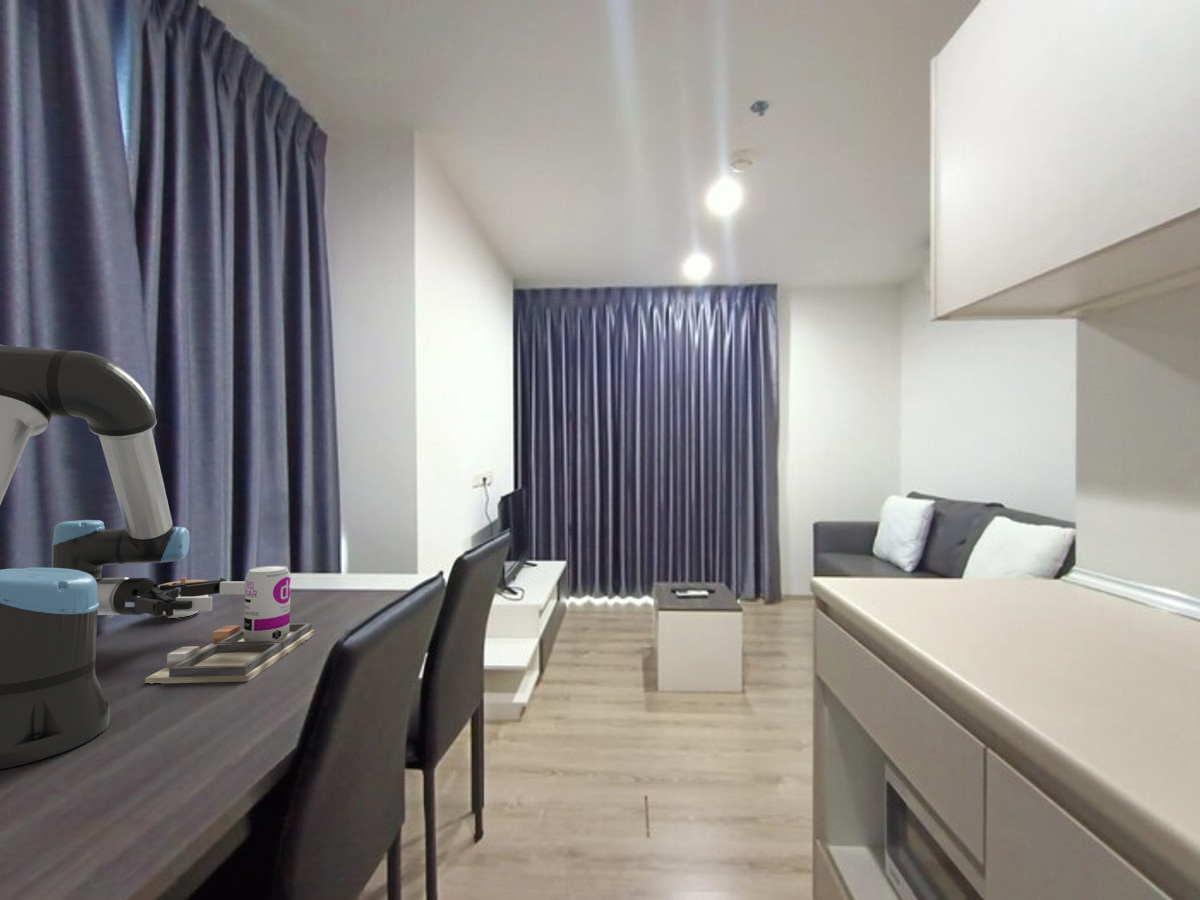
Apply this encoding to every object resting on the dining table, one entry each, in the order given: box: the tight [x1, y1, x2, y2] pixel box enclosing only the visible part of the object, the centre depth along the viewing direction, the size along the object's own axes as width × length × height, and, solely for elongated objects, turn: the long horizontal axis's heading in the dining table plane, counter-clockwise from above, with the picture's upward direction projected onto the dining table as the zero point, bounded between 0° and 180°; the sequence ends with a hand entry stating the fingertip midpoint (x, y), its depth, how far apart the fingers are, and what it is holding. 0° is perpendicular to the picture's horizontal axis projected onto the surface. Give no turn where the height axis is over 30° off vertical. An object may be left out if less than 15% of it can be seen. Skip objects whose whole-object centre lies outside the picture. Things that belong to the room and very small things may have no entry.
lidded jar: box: [157, 577, 209, 619], centre depth 132 cm, size 11×11×9 cm
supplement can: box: [243, 565, 292, 641], centre depth 112 cm, size 8×8×15 cm
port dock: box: [144, 622, 316, 685], centre depth 105 cm, size 26×17×4 cm, turn 5°
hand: (232, 595), depth 111 cm, fingers open, 13 cm apart
